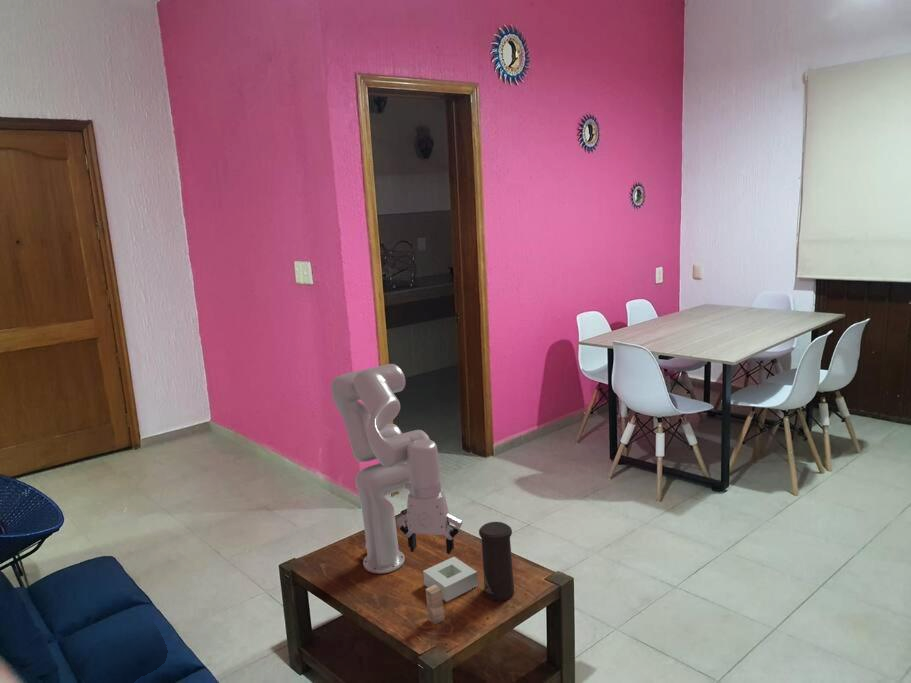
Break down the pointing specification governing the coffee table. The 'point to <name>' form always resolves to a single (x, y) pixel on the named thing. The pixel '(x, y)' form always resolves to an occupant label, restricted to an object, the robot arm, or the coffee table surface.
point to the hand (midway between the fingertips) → (431, 550)
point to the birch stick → (435, 604)
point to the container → (497, 560)
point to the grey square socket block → (451, 578)
